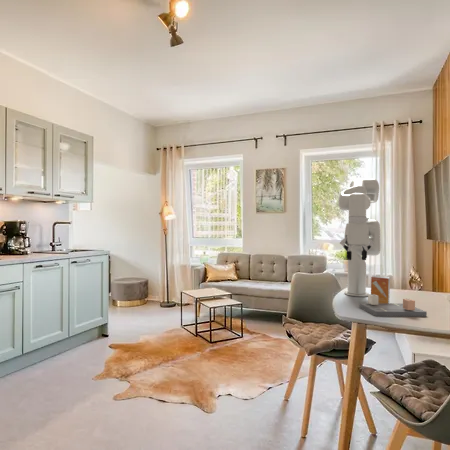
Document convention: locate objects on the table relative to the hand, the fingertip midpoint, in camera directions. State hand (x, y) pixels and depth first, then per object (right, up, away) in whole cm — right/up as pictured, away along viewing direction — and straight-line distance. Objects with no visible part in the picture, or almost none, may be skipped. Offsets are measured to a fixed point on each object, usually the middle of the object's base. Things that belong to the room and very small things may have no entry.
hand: (356, 259), depth 161 cm
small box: (+17, -23, +14) cm, 32 cm away
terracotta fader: (+19, -20, -9) cm, 29 cm away
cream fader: (+8, -20, 0) cm, 22 cm away
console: (+14, -23, -4) cm, 27 cm away
